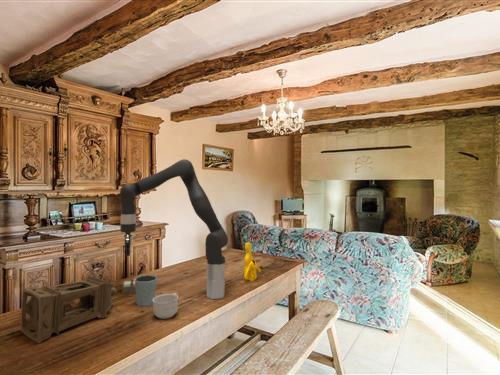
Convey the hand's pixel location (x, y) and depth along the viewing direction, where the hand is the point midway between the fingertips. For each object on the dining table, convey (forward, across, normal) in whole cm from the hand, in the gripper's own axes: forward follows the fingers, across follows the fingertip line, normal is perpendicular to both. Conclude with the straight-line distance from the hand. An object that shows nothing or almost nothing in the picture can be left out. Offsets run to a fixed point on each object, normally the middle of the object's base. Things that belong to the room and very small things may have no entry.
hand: (127, 255), depth 158 cm
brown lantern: (+19, -30, +18) cm, 40 cm away
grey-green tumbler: (+19, -19, -9) cm, 29 cm away
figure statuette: (+19, 0, -70) cm, 72 cm away
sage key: (+17, 0, 0) cm, 17 cm away
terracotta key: (+17, 0, -4) cm, 18 cm away
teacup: (+19, -35, -18) cm, 44 cm away
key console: (+19, +2, -4) cm, 20 cm away
